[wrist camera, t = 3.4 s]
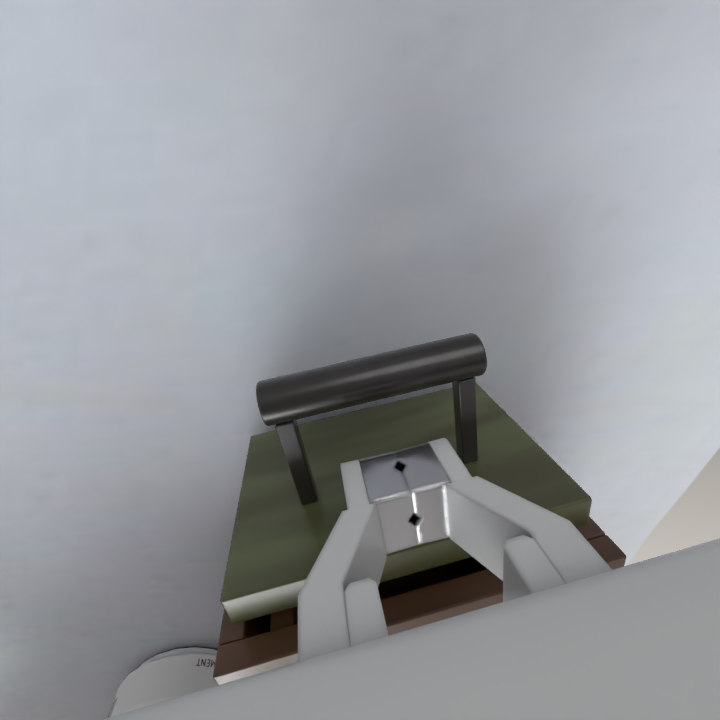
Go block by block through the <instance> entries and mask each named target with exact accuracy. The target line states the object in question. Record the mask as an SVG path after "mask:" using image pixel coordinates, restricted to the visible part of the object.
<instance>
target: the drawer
mask: <svg viewBox="0 0 720 720" xmlns="http://www.w3.org/2000/svg"><path fill="white" fill-rule="evenodd" d="M486 367H487V359H486V353H485V349H484V346H483V344H482V342H481V340H480V339H479V337H478V336H477V335H476V334H474V333H469V334H465V335H460V336H456V337H451V338H447V339H443V340H438V341H434V342H430V343H425V344H421V345H416V346H412V347H408V348H403V349H399V350H395V351H390V352H386V353H381V354H377V355H373V356H368V357H364V358H360V359H355V360H351V361H347V362H342V363H338V364H333V365H329V366H325V367H320V368H316V369H312V370H307V371H303V372H298V373H294V374H290V375H285V376H281V377H277V378H272V379H268V380H263V381H259V382H258V383H257V386H256V396H257V402H258V407H259V411H260V414H261V417H262V419H263V421H264V423H265V424H266V425H267V426H271V425H275V424H276V426H275V427H276V431H271V432H267V433H263V434H259V435H255V436H252V437H251V439H250V444H249V450H248V455H247V460H246V466H245V471H244V476H243V482H242V487H241V492H240V498H239V503H238V509H237V514H236V519H235V525H234V530H233V535H232V541H231V546H230V551H229V557H228V562H227V567H226V573H225V578H224V584H223V589H222V594H221V600H220V601H221V604H222V605H223V607H224V609H225V611H226V612H227V614H228V616H229V618H230V619H231V621H232V623H233V624H237V623H240V622H244V621H247V620H251V619H254V618H258V617H261V616H265V615H268V614H271V621H270V631H273V630H276V629H280V628H283V627H287V626H290V625H294V624H297V623H298V594H299V592H300V590H301V588H302V586H303V585H304V583H305V581H306V579H307V577H308V575H309V573H310V571H311V569H312V567H313V566H314V564H315V562H316V560H317V558H318V556H319V554H320V552H321V550H322V548H323V547H324V545H325V543H326V541H327V539H328V537H329V535H330V533H331V531H332V530H333V528H334V526H335V524H336V522H337V520H338V518H339V516H340V514H341V512H342V511H345V510H348V509H347V503H346V497H345V491H344V485H343V480H342V474H341V468H340V466H341V463H345V462H349V461H354V460H359V459H361V458H366V457H370V456H374V455H379V454H383V453H388V452H392V451H396V450H400V449H404V448H408V447H412V446H416V445H420V444H424V443H427V442H430V441H434V440H437V439H441V438H446V439H447V440H448V441H449V443H450V444H451V446H452V447H453V449H454V450H455V452H456V453H457V455H458V456H459V458H460V460H461V461H462V463H463V464H464V466H465V467H466V469H467V470H468V472H469V473H470V475H471V476H472V477H475V476H479V477H481V478H483V479H485V480H487V481H489V482H491V483H493V484H495V485H497V486H499V487H501V488H503V489H505V490H507V491H509V492H512V493H514V494H516V495H518V496H520V497H522V498H524V499H526V500H528V501H530V502H532V503H534V504H536V505H538V506H540V507H542V508H545V509H547V510H549V511H551V512H553V513H555V514H557V515H559V516H561V517H563V518H565V519H567V520H569V521H570V522H571V523H572V524H573V525H574V526H575V527H580V526H583V525H586V524H587V523H588V520H589V514H590V507H591V501H592V500H591V497H590V496H589V495H588V494H587V493H586V492H585V491H584V490H583V489H582V488H581V487H580V486H579V485H578V484H577V483H576V482H575V481H574V480H573V479H572V478H571V477H570V476H569V475H568V474H567V473H566V472H565V471H564V470H563V469H562V468H561V467H560V466H559V465H558V464H557V463H556V462H555V461H554V460H553V459H552V458H551V457H550V456H549V455H548V454H547V453H546V452H545V451H544V450H543V449H542V448H541V447H540V446H539V445H538V444H537V443H536V442H535V441H534V440H533V439H532V438H531V437H530V436H529V435H528V434H527V433H526V432H525V431H524V430H523V429H522V428H521V427H520V426H519V425H518V424H517V423H516V422H515V421H514V420H513V419H512V418H511V417H510V416H509V415H508V414H507V413H506V412H505V411H504V410H503V409H502V408H501V407H500V406H499V405H498V404H497V403H496V402H495V401H494V400H493V399H492V398H491V397H490V396H489V395H488V394H487V393H486V392H485V391H484V390H483V389H482V388H481V387H480V386H478V385H477V384H476V383H475V378H474V377H475V376H480V375H482V374H484V373H485V371H486ZM450 382H452V385H453V388H450V389H446V390H442V391H438V392H433V393H429V394H425V395H421V396H417V397H413V398H408V399H404V400H400V401H396V402H392V403H388V404H384V405H379V406H375V407H371V408H367V409H363V410H359V411H354V412H350V413H346V414H342V415H338V416H334V417H330V418H325V419H321V420H317V421H313V422H309V423H305V424H300V425H297V422H296V419H300V418H304V417H308V416H312V415H317V414H321V413H325V412H329V411H333V410H338V409H342V408H346V407H350V406H354V405H358V404H363V403H367V402H371V401H375V400H379V399H383V398H388V397H392V396H396V395H400V394H404V393H409V392H413V391H417V390H421V389H425V388H429V387H434V386H438V385H442V384H446V383H450ZM486 569H487V568H486V567H485V566H483V565H482V564H481V563H480V562H479V561H477V560H476V559H475V558H474V557H472V556H471V555H470V554H469V553H467V552H466V551H465V550H464V549H462V548H461V547H460V546H459V545H457V544H456V543H455V542H454V541H452V540H451V539H450V537H448V538H444V539H440V540H436V541H432V542H427V543H423V544H419V545H416V546H412V547H409V548H406V549H402V550H399V551H396V552H393V553H389V554H387V558H386V562H385V565H384V569H383V573H382V576H381V580H380V583H379V587H378V591H379V595H380V600H381V599H385V598H388V597H391V596H395V595H398V594H402V593H405V592H409V591H412V590H416V589H419V588H423V587H426V586H430V585H433V584H437V583H440V582H444V581H447V580H451V579H454V578H458V577H461V576H465V575H468V574H472V573H475V572H479V571H482V570H486Z"/></svg>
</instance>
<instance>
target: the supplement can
mask: <svg viewBox="0 0 720 720" xmlns="http://www.w3.org/2000/svg"><path fill="white" fill-rule="evenodd" d="M216 655H217V650H214V649H207V648H198V647H192V648H182V649H174V650H171V651H167V652H164V653H161V654H158V655H155V656H154V657H152V658H150V659H149V660H147V661H145V662H143V663H142V664H141V665H140V666H139V667H138V669H136V670H135V671H133V672H131V673H129V675H128V676H127V677H126V678H125V679H124V681H123V682H122V683H121V684H120V685H119V687H118V690H117V693H116V696H115V698H114V701H113V704H112V707H111V709H110V712H109V715H108V718H109V717H112V716H116V715H119V714H122V713H126V712H129V711H133V710H136V709H139V708H143V707H146V706H150V705H153V704H157V703H160V702H163V701H167V700H170V699H174V698H177V697H180V696H184V695H187V694H191V693H194V692H198V691H201V690H204V689H208V688H211V687H215V686H218V684H217V683H216V681H215V680H214V678H213V672H214V666H215V661H216Z"/></svg>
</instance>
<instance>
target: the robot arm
mask: <svg viewBox="0 0 720 720" xmlns="http://www.w3.org/2000/svg"><path fill="white" fill-rule="evenodd" d="M340 468H341V474H342V480H343V485H344V491H345V497H346V503H347V509H348V510H345V511H342V512H341V514H340V516H339V518H338V520H337V522H336V524H335V526H334V528H333V530H332V531H331V533H330V535H329V537H328V539H327V541H326V543H325V545H324V547H323V548H322V550H321V552H320V554H319V556H318V558H317V560H316V562H315V564H314V566H313V567H312V569H311V571H310V573H309V575H308V577H307V579H306V581H305V583H304V585H303V586H302V588H301V590H300V592H299V594H298V662H297V663H293V664H290V665H286V666H283V667H280V668H276V669H273V670H269V671H266V672H262V673H259V674H256V675H252V676H249V677H245V678H242V679H239V680H235V681H232V682H228V683H225V684H221V685H218V686H215V687H211V688H208V689H204V690H201V691H198V692H194V693H191V694H187V695H184V696H180V697H177V698H174V699H170V700H167V701H163V702H160V703H157V704H153V705H150V706H146V707H143V708H139V709H136V710H133V711H129V712H126V713H122V714H119V715H116V716H112V717H109V718H105V719H102V720H720V539H716V540H713V541H710V542H706V543H702V544H699V545H696V546H692V547H689V548H686V549H682V550H679V551H676V552H672V553H669V554H665V555H662V556H658V557H655V558H651V559H648V560H644V561H641V562H638V563H634V564H631V565H627V566H624V567H621V568H617V569H614V570H612V569H611V568H610V567H609V565H608V564H607V563H606V562H605V561H604V560H603V559H602V557H601V556H600V555H599V554H598V553H597V552H596V550H595V549H594V548H593V547H592V546H591V545H590V543H589V542H588V541H587V540H586V539H585V538H584V537H583V535H582V534H581V533H580V532H579V531H578V530H577V528H576V527H575V526H574V525H573V524H572V523H571V522H570V521H569V520H567V519H565V518H563V517H561V516H559V515H557V514H555V513H553V512H551V511H549V510H547V509H545V508H542V507H540V506H538V505H536V504H534V503H532V502H530V501H528V500H526V499H524V498H522V497H520V496H518V495H516V494H514V493H512V492H509V491H507V490H505V489H503V488H501V487H499V486H497V485H495V484H493V483H491V482H489V481H487V480H485V479H483V478H481V477H479V476H475V477H472V476H471V475H470V473H469V472H468V470H467V469H466V467H465V466H464V464H463V463H462V461H461V460H460V458H459V456H458V455H457V453H456V452H455V450H454V449H453V447H452V446H451V444H450V443H449V441H448V440H447V439H446V438H441V439H437V440H434V441H430V442H427V443H424V444H420V445H416V446H412V447H408V448H404V449H400V450H396V451H392V452H388V453H383V454H379V455H374V456H370V457H366V458H361V459H359V460H354V461H349V462H345V463H341V466H340ZM448 537H450V539H451V540H452V541H454V542H455V543H456V544H457V545H459V546H460V547H461V548H462V549H464V550H465V551H466V552H467V553H469V554H470V555H471V556H472V557H474V558H475V559H476V560H477V561H479V562H480V563H481V564H482V565H483V566H485V567H486V568H487V569H488V570H490V571H491V572H492V573H493V574H495V575H496V576H497V577H498V578H500V579H501V580H502V581H503V602H502V603H498V604H495V605H491V606H488V607H485V608H481V609H478V610H474V611H471V612H467V613H464V614H461V615H457V616H454V617H450V618H447V619H444V620H440V621H437V622H433V623H430V624H426V625H423V626H420V627H416V628H413V629H409V630H406V631H402V632H399V633H396V634H392V635H389V634H388V630H387V626H386V621H385V617H384V613H383V608H382V604H381V600H380V595H379V591H378V587H379V583H380V580H381V576H382V573H383V569H384V565H385V562H386V558H387V554H389V553H393V552H396V551H399V550H402V549H406V548H409V547H412V546H416V545H419V544H423V543H427V542H432V541H436V540H440V539H444V538H448Z"/></svg>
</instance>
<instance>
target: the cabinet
mask: <svg viewBox="0 0 720 720" xmlns="http://www.w3.org/2000/svg"><path fill="white" fill-rule="evenodd" d="M576 528H577V530H578V531H579V532H580V533H581V534H582V535H583V537H584V538H585V539H586V540H587V541H588V542H589V543H590V545H591V546H592V547H593V548H594V549H595V550H596V552H597V553H598V554H599V555H600V556H601V557H602V559H603V560H604V561H605V562H606V563H607V564H608V565H609V567H610V568H611V569H612V570H614V569H617V568H621V567H624V564H625V560H626V555H625V554H624V553H623V552H622V551H621V550H620V548H619V547H618V546H617V545H616V544H615V543H614V542H613V541H612V540H611V539H610V538H609V537H608V536H607V535H605V533H604V532H603V531H602V530H601V528H600V527H599V526H598V525H597V524H596V523H595V522H594V521H593V520H592V519H591V518H590V517H589V520H588V523H587V524H586V525H583V526H580V527H576ZM502 602H503V581H502V580H501V579H500V578H498V577H497V576H496V575H495V574H493V573H492V572H491V571H490V570H488V569H486V570H482V571H479V572H475V573H472V574H468V575H465V576H461V577H458V578H454V579H451V580H447V581H444V582H440V583H437V584H433V585H430V586H426V587H423V588H419V589H416V590H412V591H409V592H405V593H402V594H398V595H395V596H391V597H388V598H385V599H381V604H382V608H383V613H384V617H385V621H386V626H387V630H388V634H389V635H392V634H396V633H399V632H402V631H406V630H409V629H413V628H416V627H420V626H423V625H426V624H430V623H433V622H437V621H440V620H444V619H447V618H450V617H454V616H457V615H461V614H464V613H467V612H471V611H474V610H478V609H481V608H485V607H488V606H491V605H495V604H498V603H502ZM270 621H271V614H268V615H265V616H261V617H258V618H254V619H251V620H247V621H244V622H240V623H237V624H233V623H232V621H231V619H230V618H229V616H228V614H227V612H226V611H225V609H224V615H223V620H222V626H221V632H220V638H219V647H218V649H217V655H216V661H215V666H214V672H213V678H214V680H215V681H216V683H217V684H218V685H221V684H225V683H228V682H232V681H235V680H239V679H242V678H245V677H249V676H252V675H256V674H259V673H262V672H266V671H269V670H273V669H276V668H280V667H283V666H286V665H290V664H293V663H297V662H298V623H297V624H294V625H290V626H287V627H283V628H280V629H276V630H273V631H270Z"/></svg>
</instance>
